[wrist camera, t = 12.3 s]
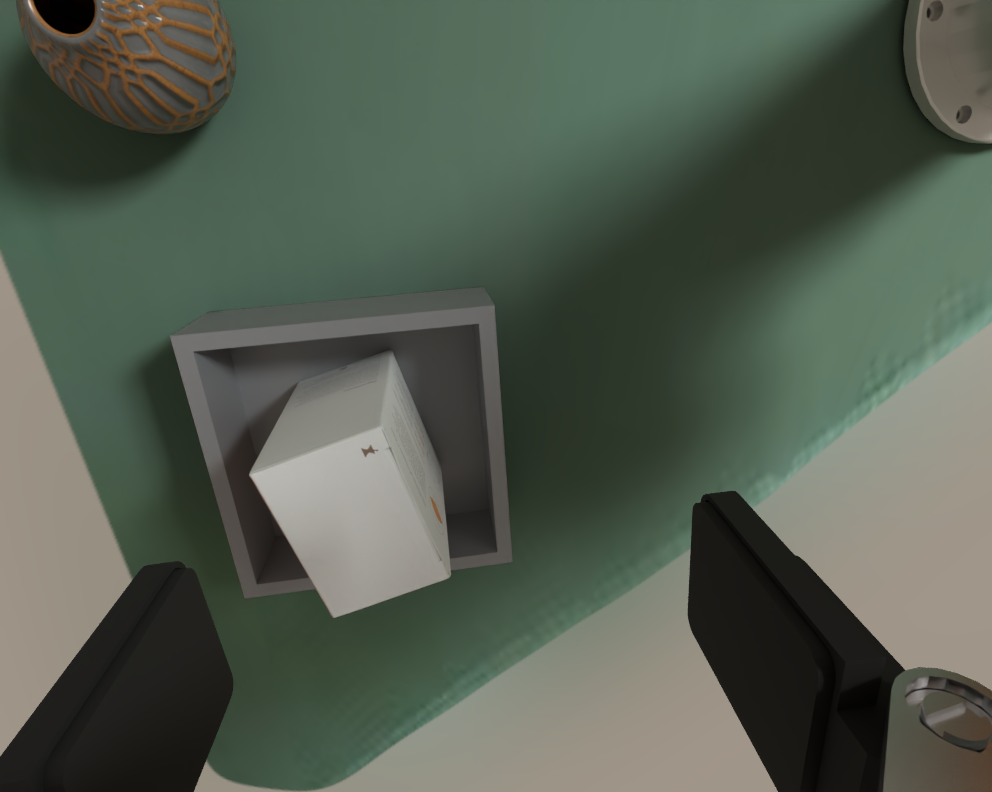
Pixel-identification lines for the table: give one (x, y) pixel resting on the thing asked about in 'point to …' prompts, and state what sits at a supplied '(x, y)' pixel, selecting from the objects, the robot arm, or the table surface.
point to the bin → (330, 345)
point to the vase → (135, 58)
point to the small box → (357, 486)
